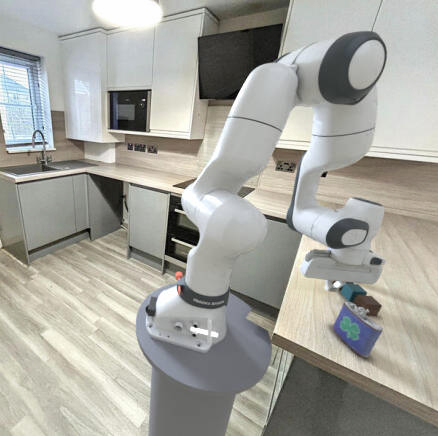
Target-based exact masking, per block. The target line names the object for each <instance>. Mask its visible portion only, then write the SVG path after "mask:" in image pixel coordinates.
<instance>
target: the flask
mask: <svg viewBox="0 0 438 436" xmlns="http://www.w3.org/2000/svg"><path fill="white" fill-rule="evenodd" d="M366 312H368V313H369V310H368V309H367V310H365V309H364V308H362V307H359V308H358V307H357V306H356V304H353V302H349V301H344V302H343V305H342V306H341V309H340V311H339V313H338V316H337V317H336V319H335V321H334V324H333V326H332V329H331V330H332V332H333V333H334V334H335V335H336V336H337V337H338V339H339V340H340V341H341V342H343V343H344V345H345V346H347V347H348V348H349V349H350V350H351V351H352V352H353V353H354V354H356V355H357V356H358V357H360V358H362V359H367V358H369V356H370V355H371V353H372V350H373V348H374V347H375V345H376V343H377V341H378V339H379V338H380V336H381V335H382V333H383V330H384V328H383V327H382V326H381V325H380V324H378V323H377V322H375V321H374V320H373V319H371V318H370V317H369V316H368V315H366V314H367V313H366Z"/></svg>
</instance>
